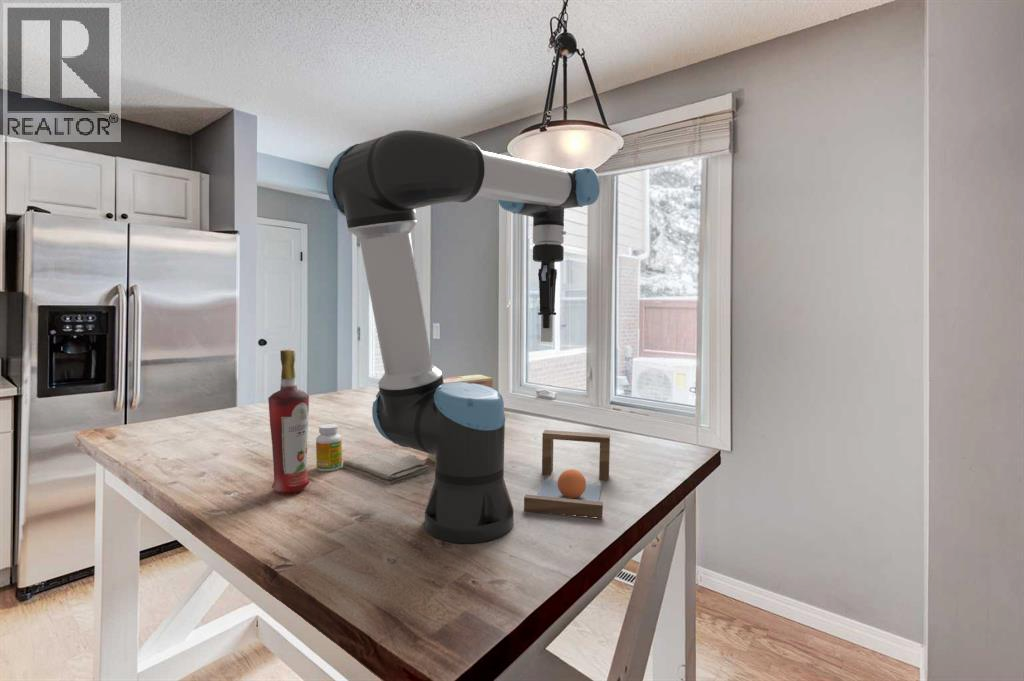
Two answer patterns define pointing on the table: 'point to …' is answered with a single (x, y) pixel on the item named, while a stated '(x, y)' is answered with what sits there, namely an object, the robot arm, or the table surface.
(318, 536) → the table surface
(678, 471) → the table surface
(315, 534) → the table surface
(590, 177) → the robot arm
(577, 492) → the ball
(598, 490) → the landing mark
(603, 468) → the bridge
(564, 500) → the stop rail
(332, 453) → the supplement bottle
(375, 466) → the washcloth
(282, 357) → the liquor
